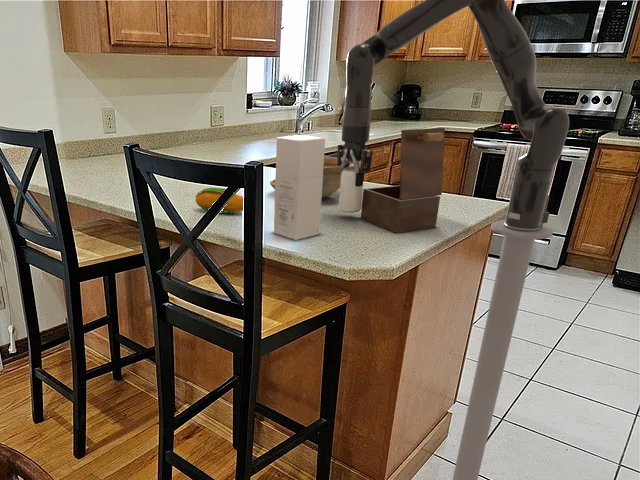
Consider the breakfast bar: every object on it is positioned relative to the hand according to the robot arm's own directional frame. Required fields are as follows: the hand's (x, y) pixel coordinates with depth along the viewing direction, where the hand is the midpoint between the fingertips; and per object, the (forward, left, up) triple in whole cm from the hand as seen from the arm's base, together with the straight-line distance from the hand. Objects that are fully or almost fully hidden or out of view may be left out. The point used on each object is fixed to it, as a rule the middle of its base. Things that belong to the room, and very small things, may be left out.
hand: (351, 183), depth 152 cm
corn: (+31, -21, -10) cm, 39 cm away
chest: (-10, +10, -10) cm, 17 cm away
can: (0, 0, -8) cm, 8 cm away
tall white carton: (+22, +8, -10) cm, 26 cm away
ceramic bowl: (-5, -30, -10) cm, 32 cm away
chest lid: (-10, +17, +8) cm, 21 cm away
